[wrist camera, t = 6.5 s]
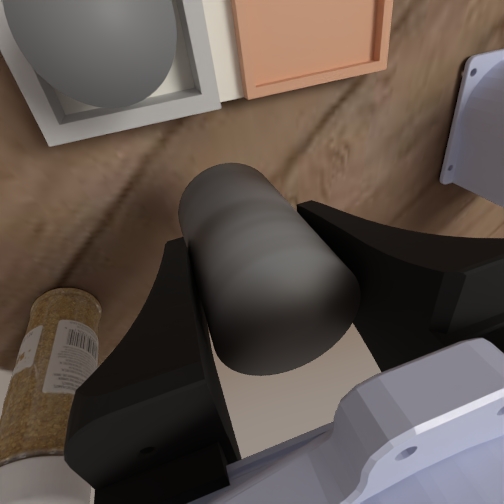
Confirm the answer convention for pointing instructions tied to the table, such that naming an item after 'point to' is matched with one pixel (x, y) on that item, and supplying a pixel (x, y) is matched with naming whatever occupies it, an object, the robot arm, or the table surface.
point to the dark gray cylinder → (262, 273)
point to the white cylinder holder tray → (178, 55)
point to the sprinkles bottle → (47, 399)
